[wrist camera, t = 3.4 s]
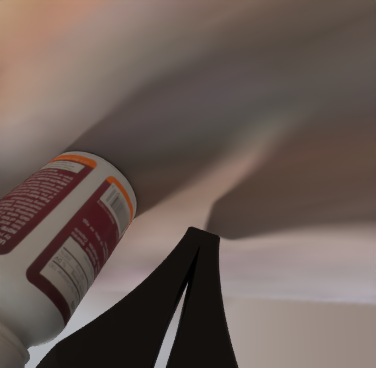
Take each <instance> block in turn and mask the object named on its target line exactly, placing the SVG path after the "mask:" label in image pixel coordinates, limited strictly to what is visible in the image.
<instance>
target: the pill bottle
mask: <svg viewBox="0 0 376 368" xmlns="http://www.w3.org/2000/svg"><path fill="white" fill-rule="evenodd" d="M135 213H136V197H135V194H134V191H133V189H132V187H131V185H130V184H129V182H128V181H127V179H126V178H125V177H124V176H123V175H122V174H121V173H120V171H119V170H117V169H116V168H115V167H114V166H113V165H112V164H110V163H109V162H107V161H106V160H104V159H103V158H101V157H99V156H96V155H94V154H90V153H87V152H80V151H72V152H66V153H63V154H60V155H59V156H57V157H55V158H54V159H53V160H52V161H50V162H49V163H47V164H46V165H45V166H43V167H42V168H41V169H39V170H38V171H37V172H36V173H35V174H33V175H32V176H31V177H29V178H28V179H27V180H25V181H24V182H23V183H22V184H20V185H19V186H18V187H16V188H15V189H14V190H12V191H11V192H10V193H9V194H7V195H6V196H5V197H4V198H2V199H1V200H0V368H24V366H25V364H26V363H27V362H28V361H29V359H30V355H29V352H28V350H27V349H28V348H29V347H31V346H38V345H42V344H45V343H48V342H50V341H52V340H53V339H54V338H56V337H57V336H58V335H59V334H60V333H61V332H62V331H63V329H64V328H65V326H66V325H67V323H68V321H69V320H70V318H71V316H72V315H73V313H74V312H75V310H76V308H77V306H78V305H79V303H80V302H81V300H82V299H83V297H84V296H85V294H86V293H87V291H88V289H89V288H90V286H91V285H92V283H93V282H94V280H95V278H96V277H97V275H98V274H99V272H100V271H101V269H102V267H103V266H104V264H105V263H106V261H107V260H108V258H109V257H110V255H111V254H112V252H113V250H114V249H115V247H116V246H117V244H118V243H119V241H120V239H121V238H122V236H123V235H124V233H125V231H126V230H127V228H128V226H129V225H130V223H131V222H132V220H133V218H134V216H135Z"/></svg>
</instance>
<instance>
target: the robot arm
mask: <svg viewBox="0 0 376 368" xmlns="http://www.w3.org/2000/svg"><path fill="white" fill-rule="evenodd" d="M219 243H220V237H219V236H218V235H215V234H212V233H209V232H206V231H203V230H200V229H198V228H195V227H189V228H188V230H187V232H186V233H185V235H184V236H183V238H182V239H181V241H180V242H179V243H178V244H177V246H176V247H175V248H174V250H173V251H172V252H171V253H170V254H169V255H168V256H167V258H166V259H165V260H164V261H163V262H162V263H161V264H160V265H159V266H158V267H157V268H156V269H155V270H154V271H153V272H152V273H151V274H150V275H149V276H148V277H147V278H146V279H145V280H144V281H143V282H142V283H141V284H140V285H138V286H137V287H136V288H135V289H134V290H133V291H131V292H130V293H129V294H128V295H127V296H125V297H124V298H123V299H122V300H120V301H119V302H118V303H116V304H115V305H114V306H113V307H111V308H110V309H108V310H107V311H106V312H104V313H103V314H101V315H100V316H99V317H97V318H96V319H94V320H93V321H92V322H90V323H88V324H87V325H85V326H84V327H82V328H81V329H79V330H77V331H76V332H74V333H73V334H71V335H70V336H68V337H66V338H64V339H63V340H61V341H60V342H58V343H57V344H56V345H55V346H54V347H53V348H52V349H51V350H50V351H49V352H48V353H47V354H46V356H45V357H44V358H43V359H42V360H41V361H40V363H39V364H38V365H37V367H36V368H154V366H155V363H156V360H157V357H158V354H159V351H160V348H161V345H162V343H163V340H164V337H165V334H166V332H167V329H168V327H169V324H170V322H171V320H172V318H173V315H174V313H175V311H176V308H177V306H178V304H179V301H180V299H181V297H182V295H183V292H184V290H185V288H186V286H187V283H188V286H187V290H186V294H185V298H184V303H183V307H182V312H181V316H180V320H179V324H178V329H177V332H176V336H175V340H174V343H173V346H172V349H171V352H170V356H169V359H168V362H167V365H166V368H238V365H237V361H236V358H235V354H234V351H233V347H232V344H231V339H230V335H229V331H228V327H227V322H226V317H225V312H224V307H223V299H222V293H221V284H220V273H219Z"/></svg>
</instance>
